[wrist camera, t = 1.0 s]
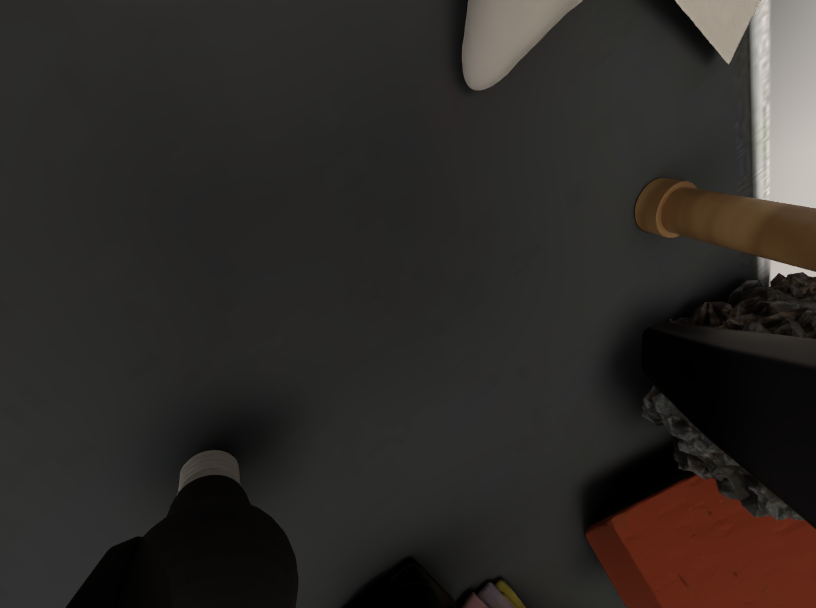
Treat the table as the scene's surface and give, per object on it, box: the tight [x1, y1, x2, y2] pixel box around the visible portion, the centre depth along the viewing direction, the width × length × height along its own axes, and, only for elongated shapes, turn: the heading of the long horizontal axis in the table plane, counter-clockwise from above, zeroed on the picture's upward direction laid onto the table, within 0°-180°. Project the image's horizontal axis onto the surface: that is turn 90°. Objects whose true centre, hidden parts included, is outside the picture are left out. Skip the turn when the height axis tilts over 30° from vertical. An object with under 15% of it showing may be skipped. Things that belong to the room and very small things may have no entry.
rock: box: [641, 272, 816, 520], centre depth 28 cm, size 16×14×15 cm
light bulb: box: [143, 450, 298, 608], centre depth 18 cm, size 6×6×10 cm
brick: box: [586, 473, 816, 608], centre depth 32 cm, size 18×9×6 cm
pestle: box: [635, 178, 816, 272], centre depth 21 cm, size 3×3×12 cm
